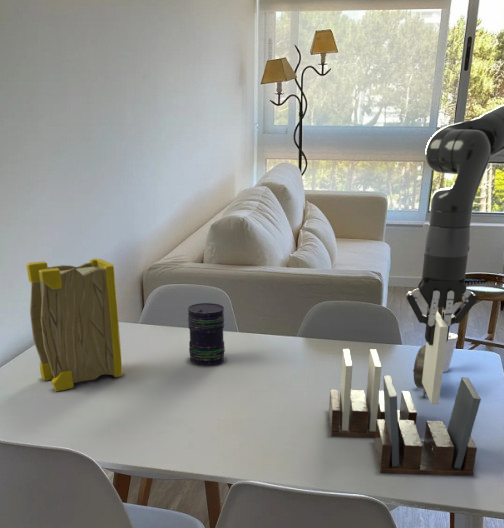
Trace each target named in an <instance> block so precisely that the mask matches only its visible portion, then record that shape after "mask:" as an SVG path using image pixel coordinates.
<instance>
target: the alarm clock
mask: <svg viewBox="0 0 504 528" xmlns="http://www.w3.org/2000/svg"><path fill="white" fill-rule="evenodd" d="M425 350H426V344H423V345H422V346H420V348H419V349H418V351H417V354H416V356H415V360H414V364H413V369H412V372H413V383H414V385H415V386H416V389H421V390H423V395H422V399H424V398H426V395H427V393H426V391H425V388H424V386H423V384H422V377H423V368H424V359H425Z"/></svg>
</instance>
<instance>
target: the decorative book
mask: <svg viewBox="0 0 504 528" xmlns="http://www.w3.org/2000/svg"><path fill="white" fill-rule="evenodd" d="M26 271H27V277H28V282H29V283H31V284H30V285H31V286H30V307H29V315H30V316H29V317H30V324H31V332H32V333H31V334H32V340H33V343H34V346H35V349H36V351H37V354H38V357H39V361H40V362H39V370H40V371H39V372H40V376H41V379H42V380H43V381H45V382H46V381H50V382H51V386H52V387H53V389H54V391H55V392H61V391H66V390H71V389H74V388H75V386H74V384H75V383H81V382H86V381H94V380H96V379H98V378H99V377H100V376H102V375H110V376H112V377H114V378H118V377H121V376H123V365H122V364H123V363H122V349H121V335H120V334H121V333H120V321H119V310H118V309H119V308H118V299H117V297H118V296H117V285H116V274H115V264H113V263H111V262H109V261H106V260H104V259H102V258H92V259H89V262H84V263H83V264H80V265H78V266H74V265H70V264H68V265H66V264H61V265H60V264H59V265H54V266H48V263H47V262H46V261H45V260H44V261H43V260H42V261H34V262H27V263H26Z"/></svg>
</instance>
